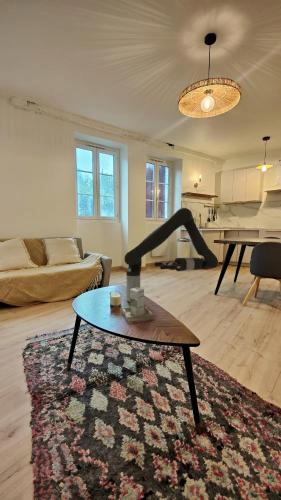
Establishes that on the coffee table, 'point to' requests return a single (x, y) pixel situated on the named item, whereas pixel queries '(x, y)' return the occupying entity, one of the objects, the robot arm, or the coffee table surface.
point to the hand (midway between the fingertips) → (157, 265)
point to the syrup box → (136, 301)
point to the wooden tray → (139, 318)
